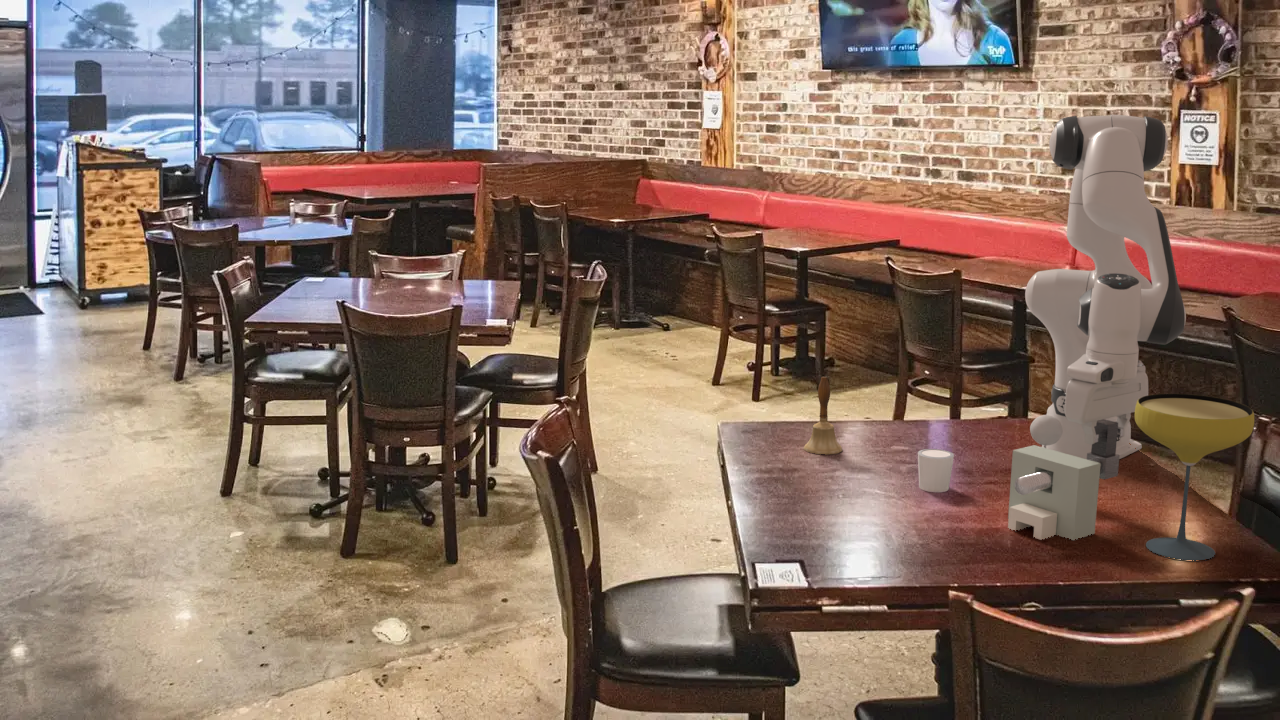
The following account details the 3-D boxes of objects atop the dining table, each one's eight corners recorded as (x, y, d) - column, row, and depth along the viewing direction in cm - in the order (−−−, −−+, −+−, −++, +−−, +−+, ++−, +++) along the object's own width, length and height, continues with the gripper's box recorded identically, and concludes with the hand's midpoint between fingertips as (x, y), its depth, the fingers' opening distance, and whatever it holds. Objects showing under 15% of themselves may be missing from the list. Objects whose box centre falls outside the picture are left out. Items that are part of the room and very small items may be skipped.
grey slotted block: (1029, 512, 232) (1034, 445, 229) (1094, 533, 221) (1100, 463, 218) (1008, 518, 229) (1012, 450, 226) (1073, 540, 218) (1079, 468, 215)
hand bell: (802, 453, 269) (805, 380, 266) (804, 443, 277) (806, 372, 274) (842, 455, 268) (845, 382, 264) (842, 445, 276) (845, 373, 272)
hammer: (1098, 470, 234) (1103, 418, 232) (1117, 475, 231) (1122, 422, 229) (1011, 494, 220) (1015, 438, 218) (1030, 500, 217) (1034, 443, 215)
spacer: (1022, 524, 226) (1024, 503, 225) (1055, 535, 220) (1057, 513, 219) (1007, 528, 224) (1009, 507, 223) (1041, 540, 218) (1042, 517, 217)
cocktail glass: (1257, 570, 204) (1275, 420, 199) (1144, 568, 205) (1158, 418, 200) (1213, 532, 222) (1227, 394, 217) (1108, 530, 223) (1120, 392, 218)
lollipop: (1018, 487, 247) (1024, 412, 244) (1043, 484, 249) (1048, 410, 246) (1040, 496, 241) (1046, 420, 238) (1064, 493, 243) (1070, 417, 240)
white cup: (952, 494, 242) (954, 459, 241) (916, 492, 244) (917, 456, 242) (951, 483, 249) (953, 449, 248) (915, 481, 250) (917, 447, 249)
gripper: (1129, 356, 236) (1123, 428, 238) (1061, 369, 224) (1055, 444, 227) (1160, 361, 231) (1153, 435, 233) (1091, 375, 219) (1085, 452, 222)
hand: (1104, 440), depth 230 cm, fingers open, 7 cm apart
